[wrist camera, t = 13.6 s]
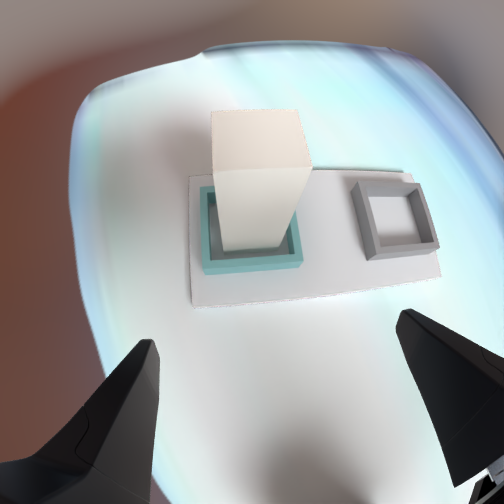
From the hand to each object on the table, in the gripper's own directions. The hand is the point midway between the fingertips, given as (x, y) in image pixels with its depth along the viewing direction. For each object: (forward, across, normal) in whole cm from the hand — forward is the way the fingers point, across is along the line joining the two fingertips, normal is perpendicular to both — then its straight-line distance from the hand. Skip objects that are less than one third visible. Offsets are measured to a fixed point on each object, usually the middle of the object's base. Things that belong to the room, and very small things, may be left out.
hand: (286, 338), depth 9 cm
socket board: (+16, -7, +3) cm, 18 cm away
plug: (+15, 0, +3) cm, 15 cm away
